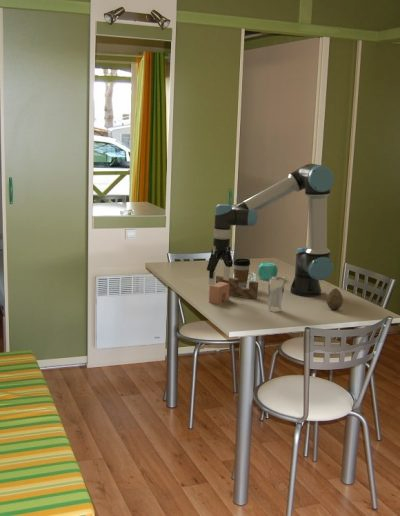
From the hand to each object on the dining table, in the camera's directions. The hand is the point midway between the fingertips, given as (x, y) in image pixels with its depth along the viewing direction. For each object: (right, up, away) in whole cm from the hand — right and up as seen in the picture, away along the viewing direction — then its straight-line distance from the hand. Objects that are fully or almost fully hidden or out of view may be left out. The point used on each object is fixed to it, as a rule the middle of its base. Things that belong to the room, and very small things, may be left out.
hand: (219, 282), depth 322 cm
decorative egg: (+53, -12, -5) cm, 54 cm away
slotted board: (+9, -7, +14) cm, 18 cm away
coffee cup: (+12, -4, +28) cm, 31 cm away
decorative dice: (+28, 0, +52) cm, 59 cm away
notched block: (0, -9, +2) cm, 9 cm away
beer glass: (+25, -12, -11) cm, 30 cm away
